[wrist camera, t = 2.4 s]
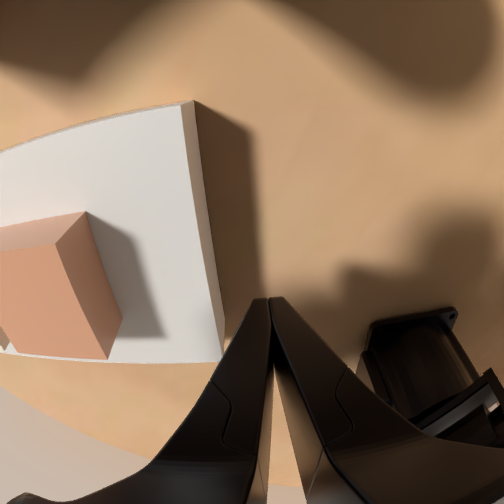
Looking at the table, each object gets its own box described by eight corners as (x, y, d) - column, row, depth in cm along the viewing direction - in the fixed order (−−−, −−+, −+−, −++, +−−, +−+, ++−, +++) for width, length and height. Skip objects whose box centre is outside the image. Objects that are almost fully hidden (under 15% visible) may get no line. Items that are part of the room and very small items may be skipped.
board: (193, 100, 11) (180, 105, 8) (224, 318, 17) (223, 361, 14) (-54, 176, 11) (-86, 195, 8) (6, 321, 17) (-13, 350, 14)
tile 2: (85, 211, 10) (54, 244, 8) (122, 318, 13) (107, 359, 10) (-3, 228, 10) (-35, 256, 8) (38, 318, 13) (17, 352, 10)
